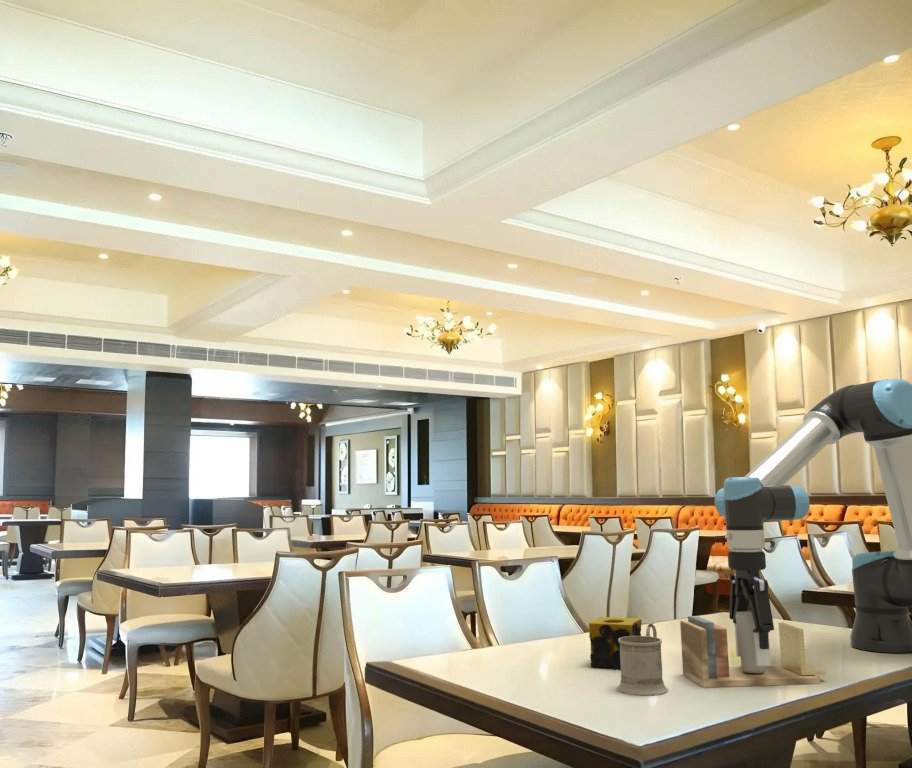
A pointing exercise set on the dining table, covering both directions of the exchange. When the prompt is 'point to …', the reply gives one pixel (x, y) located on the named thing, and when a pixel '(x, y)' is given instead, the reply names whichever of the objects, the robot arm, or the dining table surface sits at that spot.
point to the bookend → (795, 651)
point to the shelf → (735, 673)
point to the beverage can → (747, 642)
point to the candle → (610, 639)
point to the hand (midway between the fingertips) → (753, 660)
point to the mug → (641, 664)
